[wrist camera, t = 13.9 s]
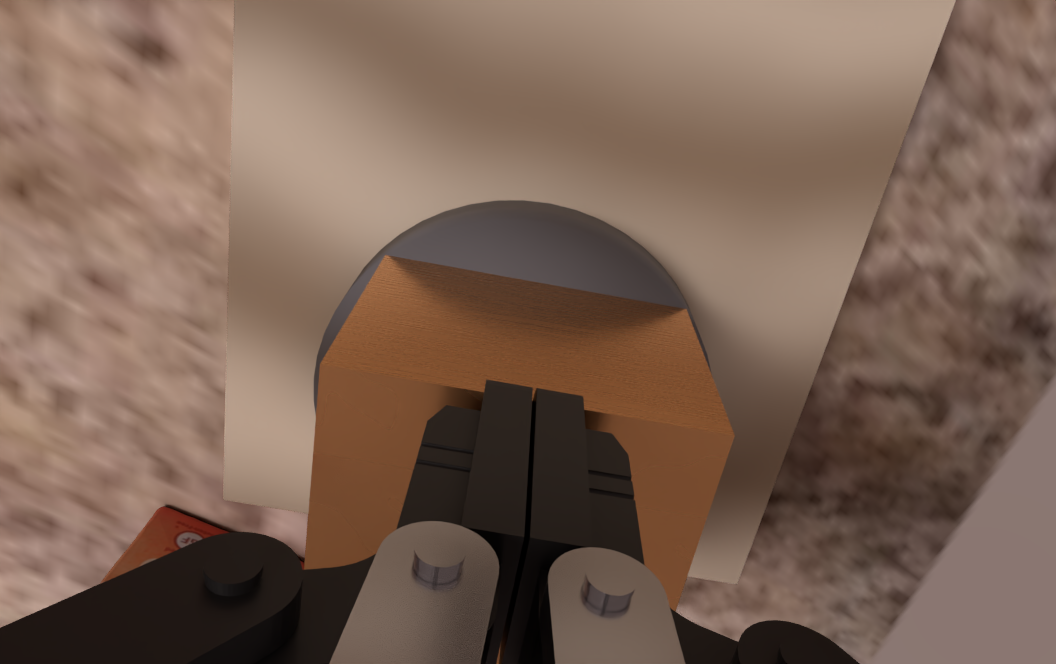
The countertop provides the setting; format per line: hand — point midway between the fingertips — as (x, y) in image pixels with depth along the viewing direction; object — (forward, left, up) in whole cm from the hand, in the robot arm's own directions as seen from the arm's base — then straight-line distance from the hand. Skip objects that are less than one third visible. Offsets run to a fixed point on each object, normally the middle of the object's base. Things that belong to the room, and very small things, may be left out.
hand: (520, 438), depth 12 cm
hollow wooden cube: (+3, 0, -5) cm, 6 cm away
